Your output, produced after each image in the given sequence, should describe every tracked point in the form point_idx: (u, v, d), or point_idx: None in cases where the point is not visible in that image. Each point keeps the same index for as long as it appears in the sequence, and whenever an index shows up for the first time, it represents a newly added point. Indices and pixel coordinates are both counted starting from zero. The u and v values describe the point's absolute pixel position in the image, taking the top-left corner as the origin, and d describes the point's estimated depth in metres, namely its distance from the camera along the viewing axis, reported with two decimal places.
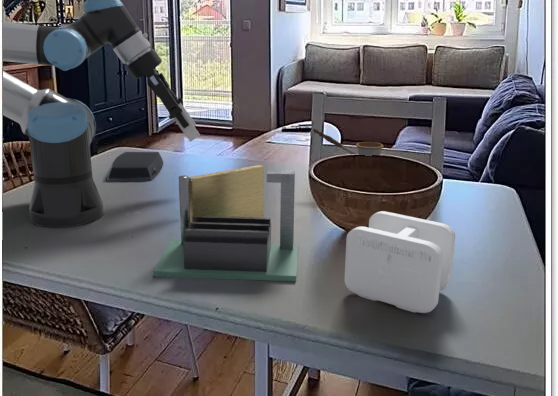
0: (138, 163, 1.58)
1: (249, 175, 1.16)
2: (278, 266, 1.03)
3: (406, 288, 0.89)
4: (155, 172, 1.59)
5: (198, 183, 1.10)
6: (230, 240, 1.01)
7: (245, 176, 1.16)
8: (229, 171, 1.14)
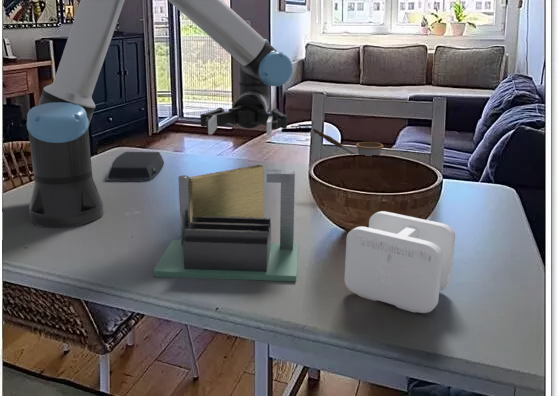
0: (138, 163, 1.58)
1: (249, 175, 1.16)
2: (278, 266, 1.03)
3: (406, 288, 0.89)
4: (155, 172, 1.59)
5: (198, 183, 1.10)
6: (230, 240, 1.01)
7: (245, 176, 1.16)
8: (229, 171, 1.14)
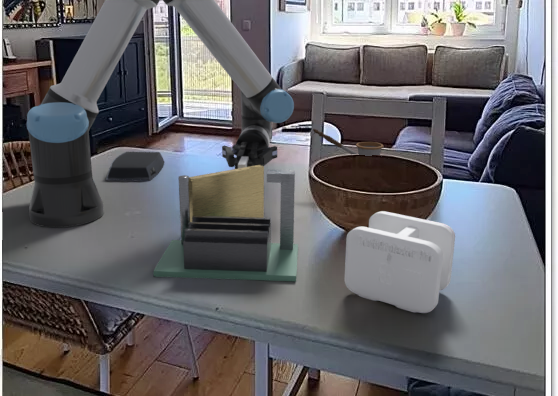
0: (137, 163, 1.58)
1: (249, 175, 1.16)
2: (278, 266, 1.03)
3: (406, 288, 0.89)
4: (154, 172, 1.59)
5: (198, 183, 1.10)
6: (230, 240, 1.01)
7: (245, 176, 1.16)
8: (229, 171, 1.14)
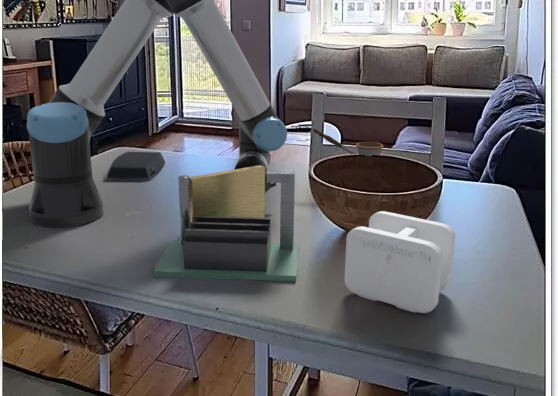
0: (137, 163, 1.58)
1: (249, 176, 1.16)
2: (278, 266, 1.03)
3: (406, 288, 0.89)
4: (154, 172, 1.59)
5: (198, 183, 1.10)
6: (230, 240, 1.01)
7: (246, 176, 1.15)
8: (230, 171, 1.14)
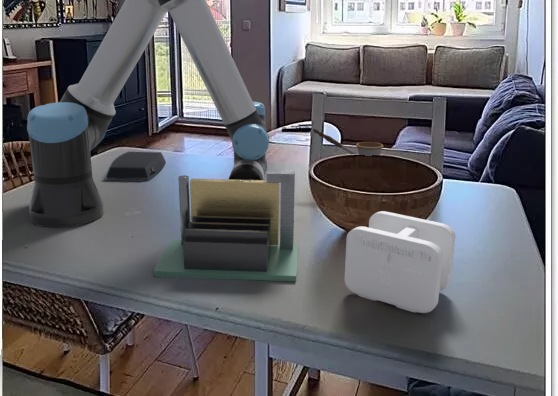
0: (137, 163, 1.58)
1: (259, 189, 1.07)
2: (278, 266, 1.03)
3: (406, 288, 0.89)
4: (154, 172, 1.59)
5: (197, 186, 1.08)
6: (230, 240, 1.01)
7: (254, 189, 1.07)
8: (236, 181, 1.08)
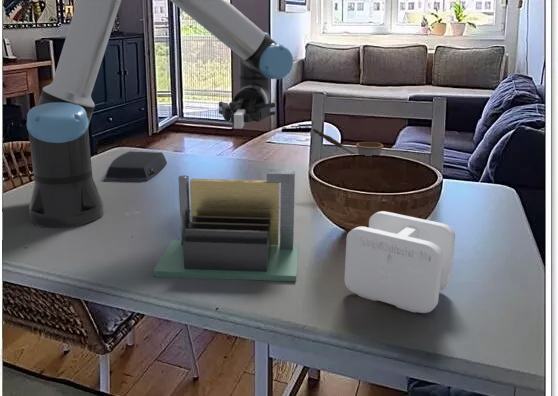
0: (136, 163, 1.58)
1: (259, 189, 1.07)
2: (278, 266, 1.03)
3: (406, 288, 0.89)
4: (153, 173, 1.59)
5: (197, 186, 1.08)
6: (230, 240, 1.01)
7: (254, 189, 1.07)
8: (236, 181, 1.08)
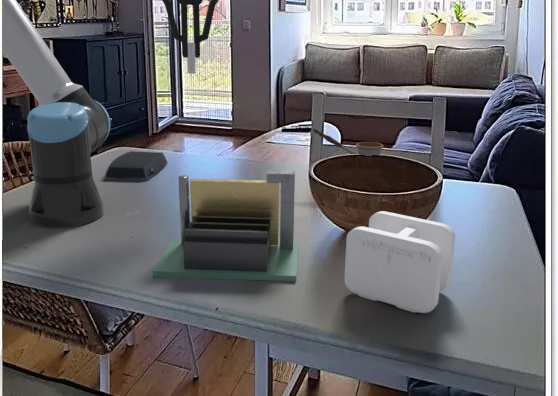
0: (136, 163, 1.58)
1: (259, 189, 1.07)
2: (278, 266, 1.03)
3: (406, 288, 0.89)
4: (153, 173, 1.59)
5: (197, 186, 1.08)
6: (230, 240, 1.01)
7: (254, 189, 1.07)
8: (236, 181, 1.08)
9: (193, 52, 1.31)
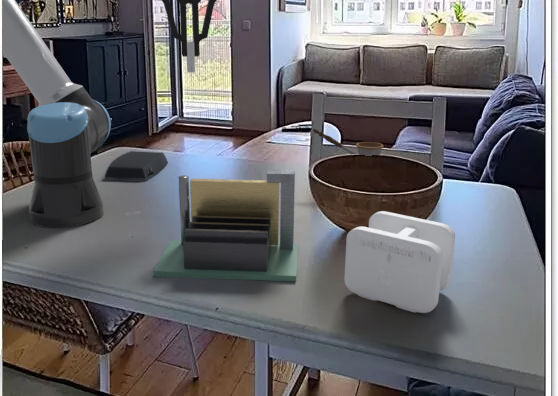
0: (136, 163, 1.58)
1: (259, 189, 1.07)
2: (278, 266, 1.03)
3: (406, 288, 0.89)
4: (152, 173, 1.59)
5: (197, 186, 1.08)
6: (230, 240, 1.01)
7: (254, 189, 1.07)
8: (236, 181, 1.08)
9: (192, 51, 1.31)
